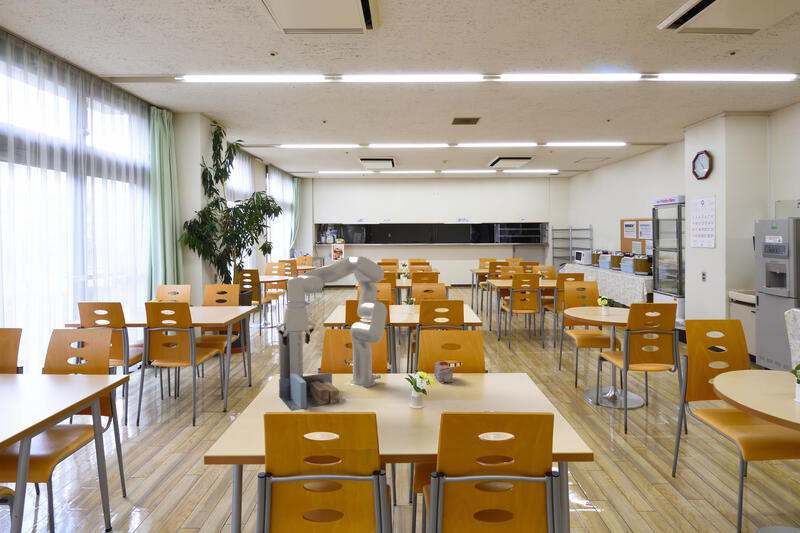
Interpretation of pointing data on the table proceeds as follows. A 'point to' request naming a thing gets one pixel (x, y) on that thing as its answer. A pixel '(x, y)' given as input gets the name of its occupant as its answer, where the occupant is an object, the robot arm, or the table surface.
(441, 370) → the food item
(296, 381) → the sheet
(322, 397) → the offcut tall
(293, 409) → the rack
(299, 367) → the brochure
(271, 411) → the table surface
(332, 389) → the offcut short
